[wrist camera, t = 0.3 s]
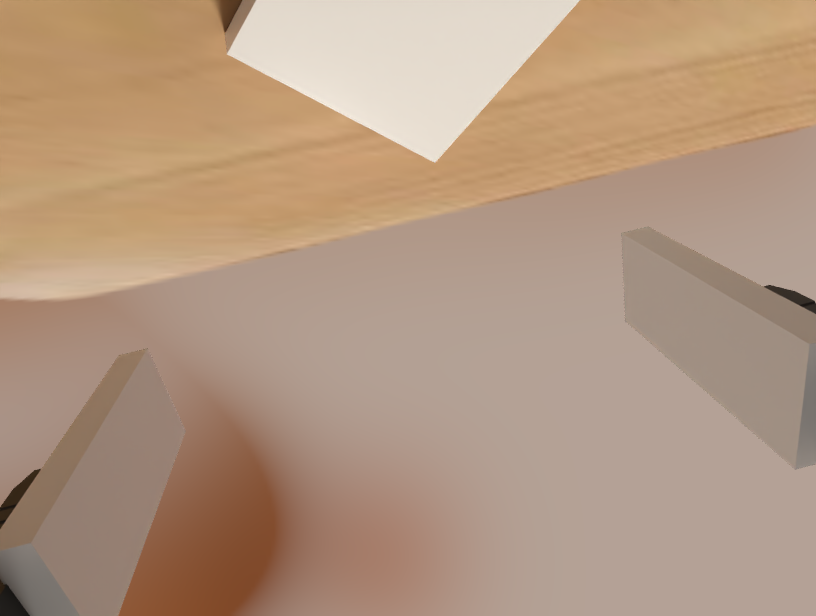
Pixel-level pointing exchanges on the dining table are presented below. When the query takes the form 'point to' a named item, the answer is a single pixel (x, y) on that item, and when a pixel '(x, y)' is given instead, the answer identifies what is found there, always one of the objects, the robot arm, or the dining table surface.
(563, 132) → the dining table surface
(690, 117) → the dining table surface
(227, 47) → the cream platter
